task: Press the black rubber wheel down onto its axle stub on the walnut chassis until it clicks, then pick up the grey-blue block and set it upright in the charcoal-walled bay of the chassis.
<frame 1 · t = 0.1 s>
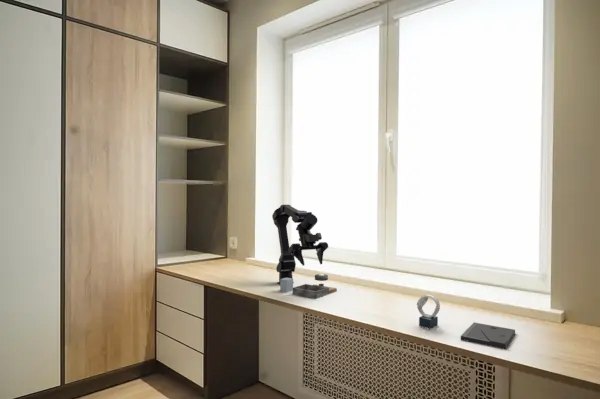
hand: (312, 264, 186), 15 cm above the table, tool tilted 30°, fingers open, 9 cm apart
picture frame: (488, 338, 135), on the table
chassis: (315, 292, 194), on the table
grey-blue block: (286, 291, 197), on the table
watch: (428, 326, 146), on the table
wheel: (321, 277, 198), point 7 cm above the table, slide at 0.0 cm
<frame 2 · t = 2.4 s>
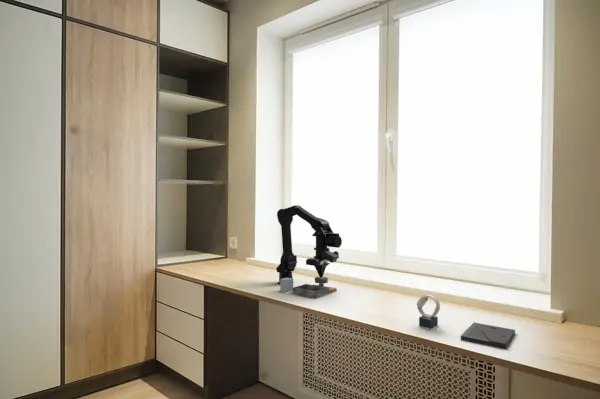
hand: (321, 277, 198), 6 cm above the table, tool pointing down, fingers closed, pressing on wheel
wheel: (321, 279, 198), point 5 cm above the table, slide at 1.3 cm, touching gripper
everything else where it was.
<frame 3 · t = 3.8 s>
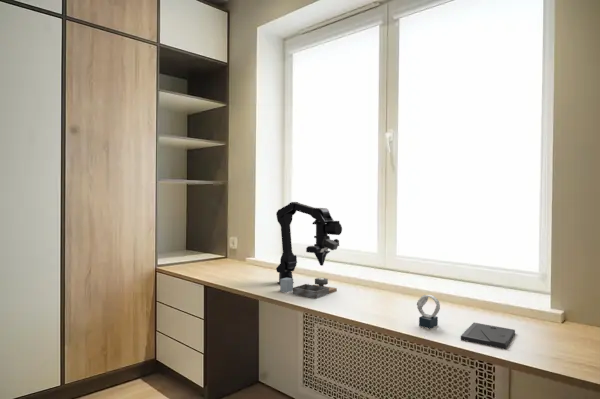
hand: (321, 265, 198), 12 cm above the table, tool pointing down, fingers closed
wheel: (321, 281, 198), point 5 cm above the table, slide at 2.0 cm
everything else where it was.
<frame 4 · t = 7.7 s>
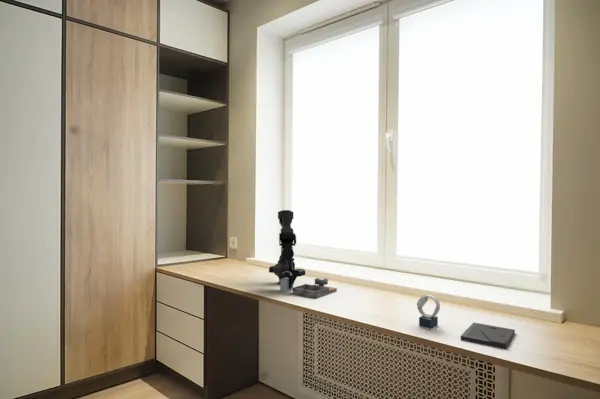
hand: (286, 288, 197), 1 cm above the table, tool pointing down, fingers closed on grey-blue block, 4 cm apart
grey-blue block: (286, 290, 197), on the table, touching gripper
everything else where it was.
when the fingers open (3 cm above the table, at t = 12.2 s): grey-blue block drops 2 cm, resting in chassis.
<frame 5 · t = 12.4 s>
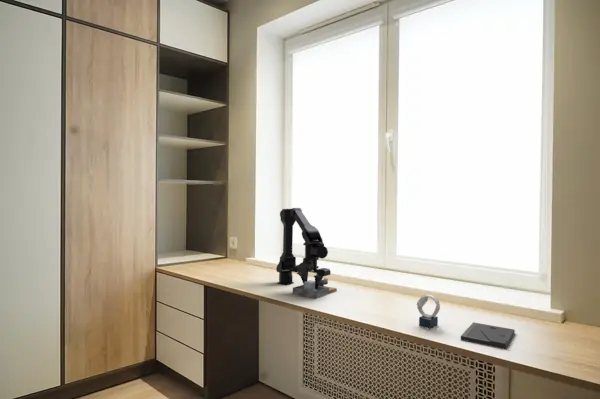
hand: (310, 288, 191), 3 cm above the table, tool pointing down, fingers open, 6 cm apart
grey-blue block: (310, 294, 191), resting in chassis
everything else where it was.
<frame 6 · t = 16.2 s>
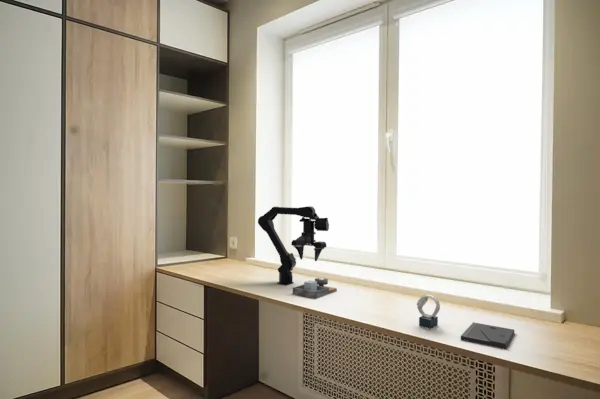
hand: (308, 260, 210), 13 cm above the table, tool pointing down, fingers open, 9 cm apart
nothing on the table moved.
at the end: grey-blue block 0.1 cm from the target spot on the chassis, point 0.0 cm above the chassis's base; wheel slide at 2.0 cm; grey-blue block tilted 0° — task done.
